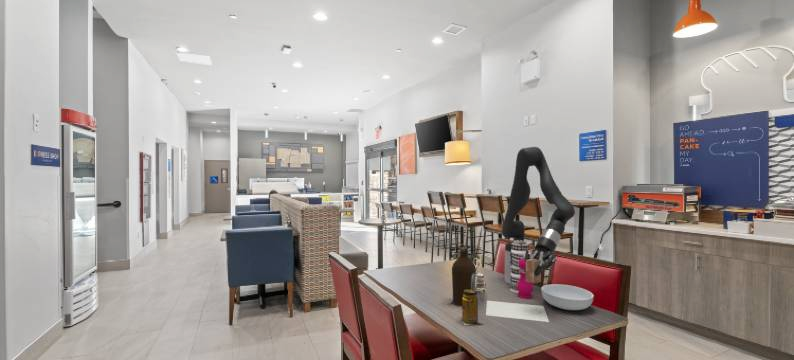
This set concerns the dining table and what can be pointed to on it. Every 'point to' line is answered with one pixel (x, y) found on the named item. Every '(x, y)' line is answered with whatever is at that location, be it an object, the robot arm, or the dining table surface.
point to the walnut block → (532, 271)
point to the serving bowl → (567, 296)
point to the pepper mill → (524, 282)
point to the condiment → (470, 308)
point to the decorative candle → (516, 262)
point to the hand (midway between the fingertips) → (530, 273)
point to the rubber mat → (516, 311)
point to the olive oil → (462, 276)
